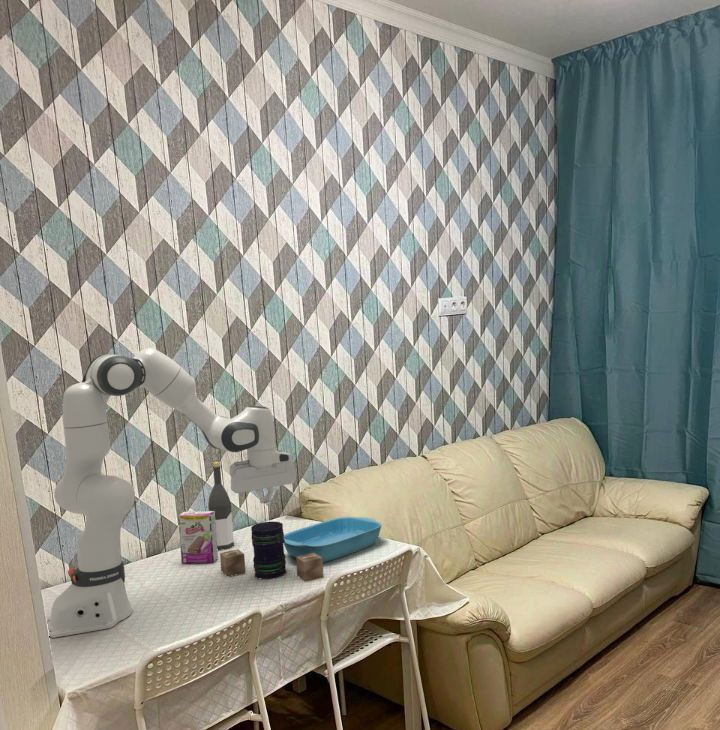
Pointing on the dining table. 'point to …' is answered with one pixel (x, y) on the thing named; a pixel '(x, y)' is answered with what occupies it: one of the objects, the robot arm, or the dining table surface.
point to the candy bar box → (198, 537)
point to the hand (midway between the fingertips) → (265, 502)
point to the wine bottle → (221, 511)
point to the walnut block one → (309, 566)
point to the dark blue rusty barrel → (268, 550)
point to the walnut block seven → (232, 562)
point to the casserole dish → (333, 537)
